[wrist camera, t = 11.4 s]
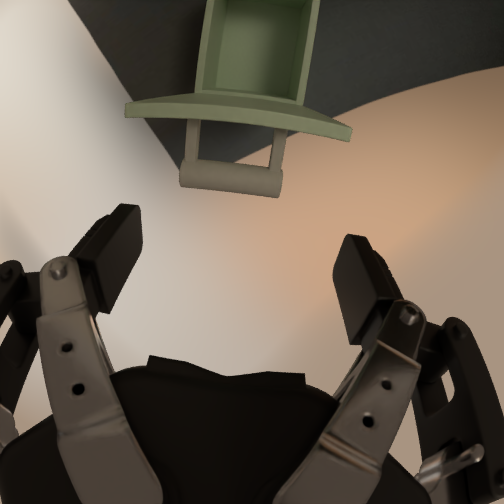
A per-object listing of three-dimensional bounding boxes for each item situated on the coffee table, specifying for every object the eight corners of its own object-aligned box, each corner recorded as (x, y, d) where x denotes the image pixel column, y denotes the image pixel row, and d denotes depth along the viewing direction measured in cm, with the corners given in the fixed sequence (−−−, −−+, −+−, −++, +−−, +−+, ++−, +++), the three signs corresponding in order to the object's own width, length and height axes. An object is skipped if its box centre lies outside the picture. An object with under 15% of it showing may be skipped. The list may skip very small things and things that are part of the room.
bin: (224, -3, 26) (212, -28, 17) (306, 7, 27) (322, -15, 18) (210, 92, 35) (193, 96, 26) (291, 102, 36) (302, 109, 27)
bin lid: (124, 103, 12) (125, 197, 15) (353, 128, 12) (329, 221, 15) (193, 93, 26) (189, 140, 29) (303, 106, 26) (294, 153, 29)
